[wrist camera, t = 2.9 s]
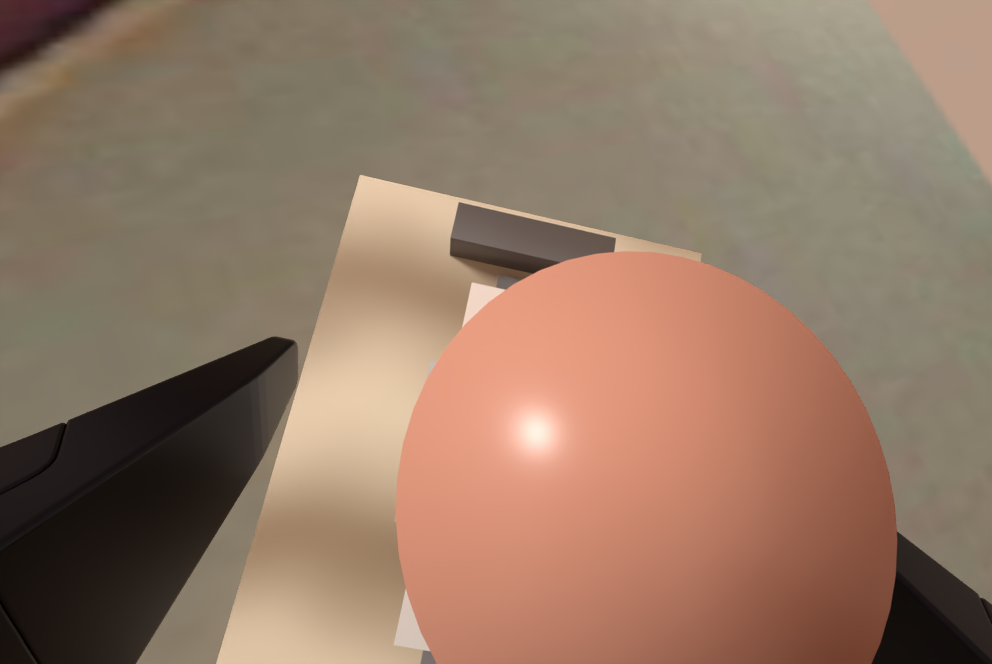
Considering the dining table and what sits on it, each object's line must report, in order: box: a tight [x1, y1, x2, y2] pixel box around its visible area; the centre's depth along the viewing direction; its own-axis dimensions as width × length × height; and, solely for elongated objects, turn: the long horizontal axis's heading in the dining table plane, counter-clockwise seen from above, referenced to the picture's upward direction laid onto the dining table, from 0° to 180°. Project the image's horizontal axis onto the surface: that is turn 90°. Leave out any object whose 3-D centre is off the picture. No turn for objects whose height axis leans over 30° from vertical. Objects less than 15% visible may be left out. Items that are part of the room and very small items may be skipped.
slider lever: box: [394, 251, 897, 664], centre depth 8 cm, size 4×4×11 cm
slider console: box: [216, 175, 701, 664], centre depth 14 cm, size 24×12×3 cm, turn 169°
